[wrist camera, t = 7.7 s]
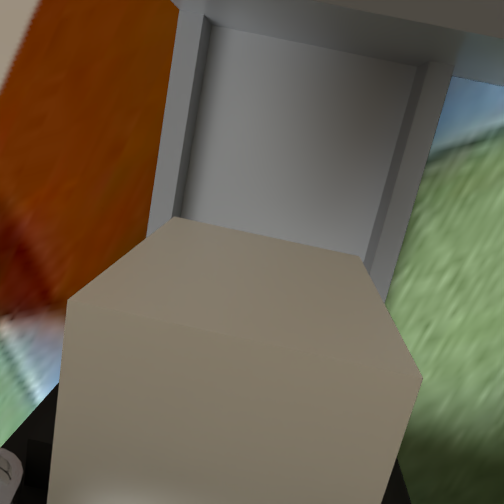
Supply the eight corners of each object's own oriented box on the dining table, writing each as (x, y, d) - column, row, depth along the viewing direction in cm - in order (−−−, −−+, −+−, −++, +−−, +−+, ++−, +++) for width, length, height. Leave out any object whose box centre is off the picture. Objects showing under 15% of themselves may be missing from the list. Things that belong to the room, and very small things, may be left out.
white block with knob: (359, 256, 10) (437, 403, 5) (278, 551, 12) (269, 881, 7) (174, 216, 10) (45, 317, 5) (126, 516, 12) (0, 814, 7)
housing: (847, 124, 16) (1174, 121, 10) (607, 588, 22) (728, 764, 16) (197, -7, 17) (143, -83, 11) (122, 474, 23) (59, 601, 16)
